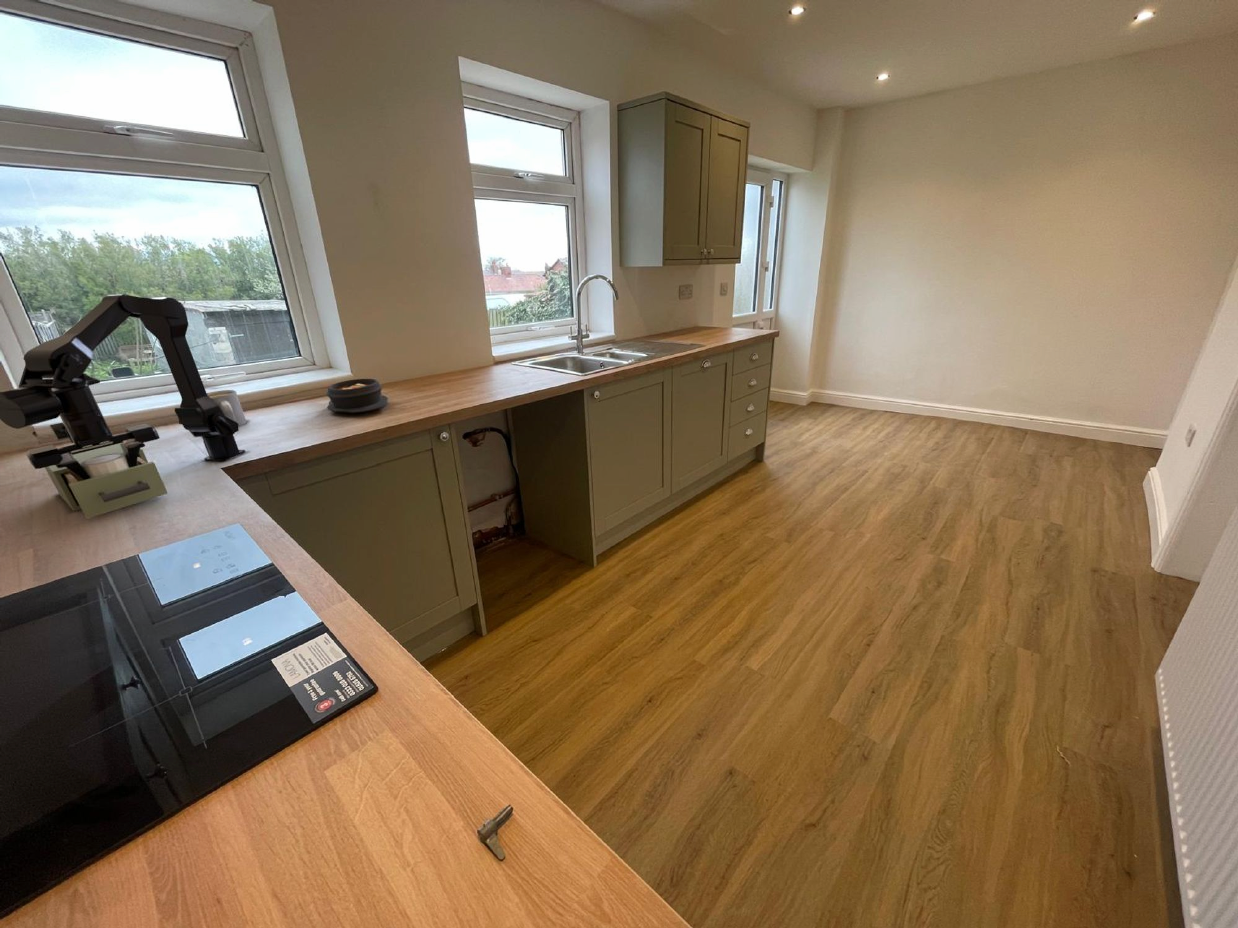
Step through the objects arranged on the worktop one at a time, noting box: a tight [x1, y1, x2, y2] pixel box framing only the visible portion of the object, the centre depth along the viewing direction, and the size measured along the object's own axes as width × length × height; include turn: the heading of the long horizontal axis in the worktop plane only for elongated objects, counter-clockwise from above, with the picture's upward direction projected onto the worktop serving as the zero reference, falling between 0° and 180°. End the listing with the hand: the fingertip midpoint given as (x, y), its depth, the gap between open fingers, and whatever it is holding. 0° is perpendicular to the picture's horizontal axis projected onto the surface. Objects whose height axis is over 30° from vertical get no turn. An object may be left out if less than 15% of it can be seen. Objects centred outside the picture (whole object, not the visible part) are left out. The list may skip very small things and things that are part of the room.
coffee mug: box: [206, 389, 247, 427], centre depth 154 cm, size 13×10×10 cm
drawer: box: [62, 457, 169, 519], centre depth 105 cm, size 19×13×7 cm
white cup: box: [80, 453, 130, 478], centre depth 105 cm, size 7×7×7 cm
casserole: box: [325, 378, 389, 414], centre depth 166 cm, size 25×19×8 cm
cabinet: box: [44, 441, 149, 512], centre depth 112 cm, size 16×14×9 cm
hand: (115, 482), depth 105 cm, fingers closed on white cup, 6 cm apart
